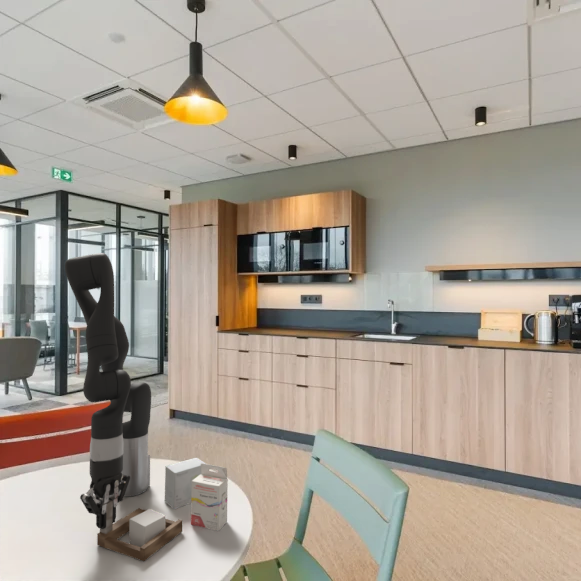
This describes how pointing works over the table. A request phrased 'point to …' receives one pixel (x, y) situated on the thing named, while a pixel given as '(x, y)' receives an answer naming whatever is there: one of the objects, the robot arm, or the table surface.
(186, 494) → the skincare box
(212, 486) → the ink cartridge box
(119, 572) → the table surface
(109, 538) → the pull frame
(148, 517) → the white cube
